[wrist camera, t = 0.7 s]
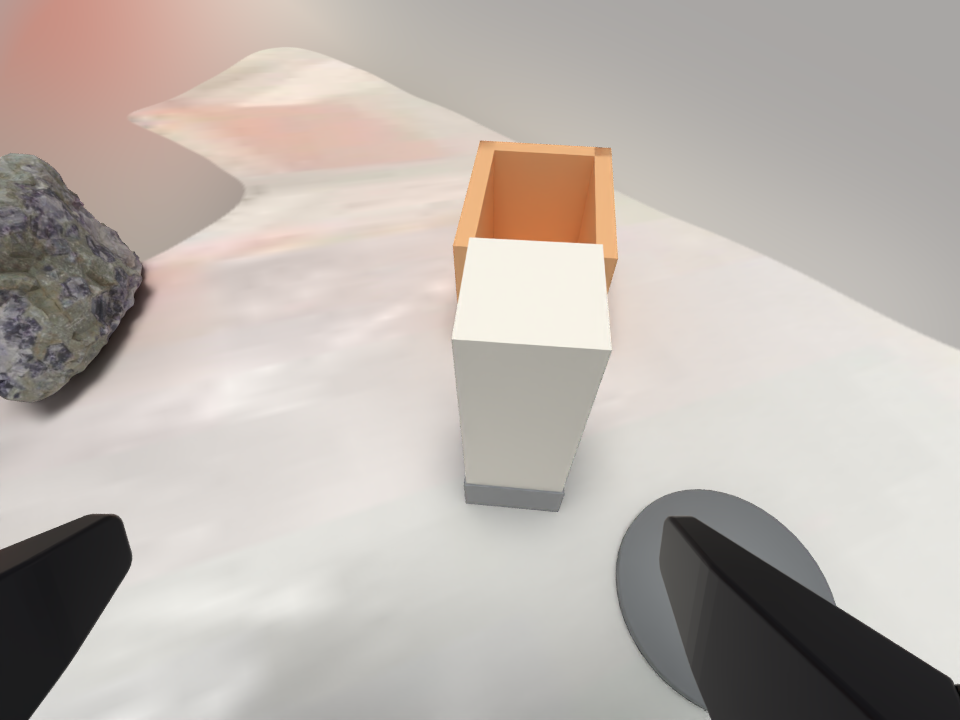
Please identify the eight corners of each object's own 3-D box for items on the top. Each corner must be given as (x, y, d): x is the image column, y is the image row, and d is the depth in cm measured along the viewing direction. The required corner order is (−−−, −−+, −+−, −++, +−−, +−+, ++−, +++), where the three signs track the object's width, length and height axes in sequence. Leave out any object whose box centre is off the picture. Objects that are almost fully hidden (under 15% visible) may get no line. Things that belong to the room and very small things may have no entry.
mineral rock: (54, 428, 26) (-139, 306, 18) (-73, 375, 29) (-294, 247, 20) (208, 278, 33) (118, 143, 25) (95, 246, 36) (-19, 113, 28)
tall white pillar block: (557, 511, 23) (615, 353, 12) (466, 503, 23) (447, 341, 13) (557, 429, 26) (605, 242, 15) (475, 422, 26) (466, 235, 16)
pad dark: (879, 661, 19) (893, 660, 18) (697, 766, 17) (705, 769, 17) (733, 470, 24) (740, 463, 23) (580, 535, 22) (583, 530, 22)
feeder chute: (481, 243, 35) (480, 140, 29) (588, 251, 34) (611, 148, 28) (460, 345, 29) (452, 245, 23) (588, 358, 28) (617, 258, 22)
